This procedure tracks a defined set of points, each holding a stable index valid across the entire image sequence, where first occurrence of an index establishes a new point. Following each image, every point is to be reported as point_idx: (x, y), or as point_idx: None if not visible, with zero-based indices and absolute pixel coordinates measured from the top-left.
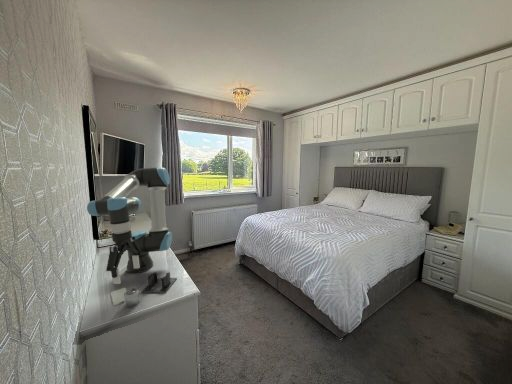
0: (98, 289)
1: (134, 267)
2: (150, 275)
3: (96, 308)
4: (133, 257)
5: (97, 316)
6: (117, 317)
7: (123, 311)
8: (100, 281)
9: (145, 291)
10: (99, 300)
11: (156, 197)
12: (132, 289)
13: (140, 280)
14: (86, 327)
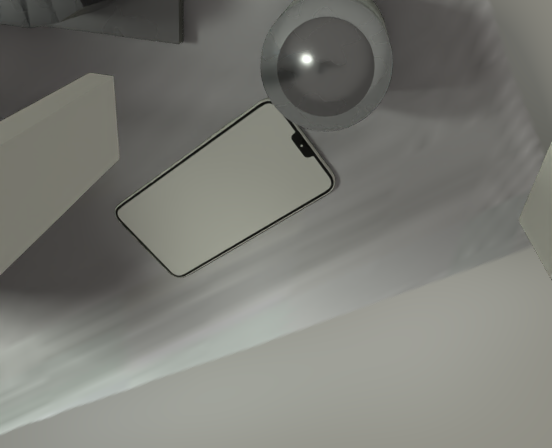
0: (144, 354)
1: (113, 152)
2: (6, 12)
3: (341, 274)
4: (13, 235)
5: (432, 228)
6: (489, 82)
7: (421, 72)
8: (65, 381)
9: (178, 2)
10: (258, 297)
11: None
12: (281, 78)
13: None
14: None
